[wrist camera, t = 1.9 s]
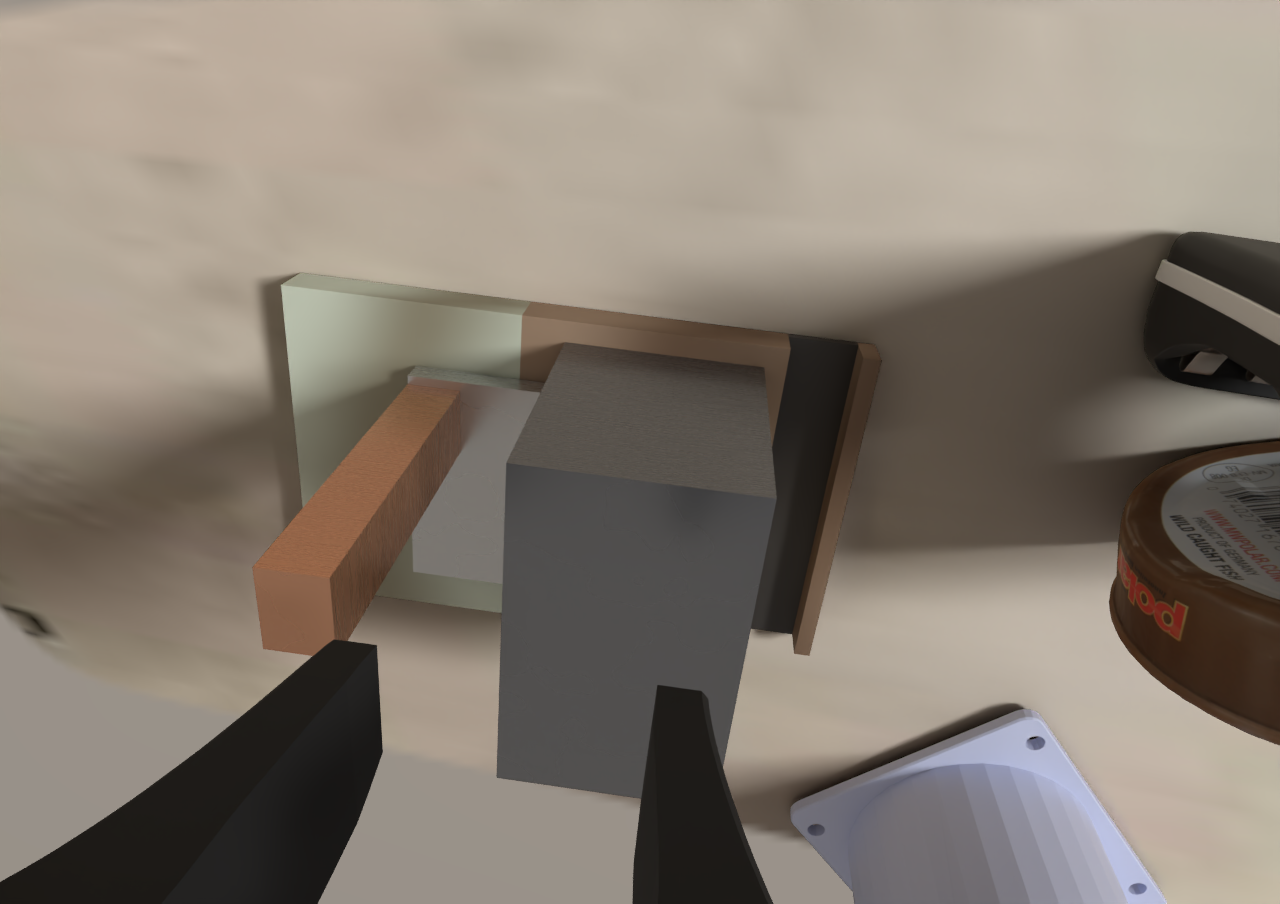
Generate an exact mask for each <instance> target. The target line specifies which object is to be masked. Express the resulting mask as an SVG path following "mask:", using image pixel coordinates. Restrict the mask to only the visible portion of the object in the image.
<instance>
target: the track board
mask: <svg viewBox="0 0 1280 904" xmlns="http://www.w3.org/2000/svg"><path fill="white" fill-rule="evenodd" d="M281 291H282V301H283V312H284V322H285V332H286V342H287V353H288V363H289V373H290V384H291V394H292V404H293V414H294V425H295V435H296V445H297V455H298V466H299V476H300V486H301V496H302V507H304V506H305V505H306V504H307V502H308V501H309V500H310V499H311V498H312V497H313V495H314V494H315V493H316V492H317V491H318V489H319V488H320V487H321V486H322V485H323V484H324V482H325V481H326V480H327V479H328V478H329V476H330V475H331V474H332V473H333V472H334V471H335V469H336V468H337V467H338V466H339V465H340V463H341V462H342V461H343V460H344V459H345V458H346V456H347V455H348V454H349V453H350V452H351V450H352V449H353V448H354V447H355V446H356V445H357V443H358V442H359V441H360V440H361V439H362V437H363V436H364V435H365V434H366V433H367V432H368V430H369V429H370V428H371V427H372V426H373V424H374V423H375V422H376V421H377V420H378V419H379V417H380V416H381V415H382V414H383V413H384V412H385V410H386V409H387V408H388V407H389V406H390V404H391V403H392V402H393V401H394V400H395V399H396V397H397V396H398V395H399V394H400V393H401V391H402V390H403V389H404V388H405V387H406V386H407V384H408V375H409V374H410V372H411V371H412V370H413V369H414V368H415V367H416V366H422V367H429V368H437V369H445V370H453V371H460V372H468V373H476V374H484V375H492V376H499V377H507V378H515V379H523V380H531V381H538V382H546V380H547V378H548V376H549V374H550V372H551V370H552V368H553V366H554V364H555V362H556V360H557V358H558V356H559V353H560V351H561V349H562V347H563V345H564V343H565V342H568V343H576V344H584V345H592V346H600V347H608V348H616V349H624V350H632V351H640V352H647V353H655V354H663V355H671V356H679V357H687V358H695V359H703V360H711V361H719V362H726V363H734V364H742V365H750V366H758V367H764V369H765V380H766V390H767V401H768V411H769V422H770V433H771V443H772V454H773V465H774V475H775V486H776V497H777V500H776V505H775V510H774V515H773V520H772V525H771V530H770V534H769V539H768V544H767V549H766V554H765V559H764V564H763V569H762V574H761V579H760V584H759V589H758V594H757V599H756V604H755V609H754V614H753V619H752V624H751V629H759V630H766V631H773V632H781V633H788V634H792V637H793V647H794V654H801V655H808V656H809V655H810V651H811V646H812V642H813V638H814V634H815V630H816V626H817V622H818V618H819V614H820V610H821V606H822V602H823V598H824V594H825V589H826V585H827V581H828V577H829V573H830V569H831V565H832V561H833V557H834V553H835V549H836V545H837V541H838V536H839V532H840V528H841V524H842V520H843V516H844V512H845V508H846V504H847V500H848V496H849V492H850V488H851V483H852V479H853V475H854V471H855V467H856V463H857V459H858V455H859V451H860V447H861V443H862V439H863V435H864V430H865V426H866V422H867V418H868V414H869V410H870V406H871V402H872V398H873V394H874V390H875V386H876V382H877V377H878V373H879V369H880V365H881V361H882V360H881V358H880V356H879V353H878V351H877V348H876V346H875V345H873V344H865V343H857V342H849V341H841V340H833V339H825V338H817V337H809V336H801V335H793V334H785V333H777V332H769V331H761V330H753V329H745V328H737V327H729V326H721V325H713V324H705V323H697V322H689V321H681V320H673V319H665V318H657V317H649V316H641V315H633V314H625V313H617V312H609V311H601V310H593V309H585V308H577V307H569V306H561V305H553V304H545V303H537V302H529V301H521V300H513V299H505V298H498V297H490V296H482V295H474V294H466V293H458V292H450V291H442V290H434V289H426V288H418V287H410V286H402V285H394V284H386V283H378V282H370V281H362V280H354V279H346V278H338V277H330V276H322V275H314V274H306V273H299V274H298V275H296V276H295V277H293V278H291V279H290V280H288V281H287V282H285V283H283V284H282V285H281ZM375 596H382V597H389V598H396V599H403V600H411V601H418V602H425V603H432V604H440V605H447V606H454V607H461V608H469V609H476V610H483V611H490V612H497V613H502V584H499V583H491V582H484V581H477V580H470V579H462V578H455V577H448V576H440V575H433V574H426V573H419V572H413V544H412V534H411V536H410V537H409V539H408V541H407V542H406V544H405V546H404V547H403V549H402V551H401V552H400V554H399V556H398V557H397V559H396V561H395V562H394V564H393V566H392V567H391V569H390V571H389V572H388V574H387V576H386V577H385V579H384V581H383V582H382V584H381V586H380V587H379V589H378V591H377V592H376V594H375Z"/></svg>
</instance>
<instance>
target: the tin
mask: <svg viewBox="0 0 1280 904" xmlns="http://www.w3.org/2000/svg"><path fill="white" fill-rule="evenodd" d="M1109 606H1110V614H1111V619H1112V622H1113V624H1114V627H1115V629H1116V631H1117V633H1118V635H1119V637H1120V639H1121V641H1122V642H1123V644H1124V645H1125V647H1126V648H1127V650H1128V651H1129V652H1130V653H1131V654H1132V656H1133V657H1134V658H1135V659H1136V660H1137V661H1138V662H1139V663H1140V664H1141V665H1142V666H1143V667H1144V668H1145V669H1146V670H1147V671H1148V672H1149V673H1150V674H1151V675H1152V676H1153V677H1155V678H1156V679H1157V680H1158V681H1160V682H1161V683H1162V684H1163V685H1165V686H1166V687H1167V688H1168V689H1170V690H1171V691H1173V692H1175V693H1176V694H1178V695H1179V696H1180V697H1182V698H1183V699H1184V700H1186V701H1188V702H1190V703H1192V704H1193V705H1195V706H1197V707H1198V708H1200V709H1202V710H1203V711H1205V712H1206V713H1208V714H1210V715H1212V716H1214V717H1216V718H1217V719H1219V720H1221V721H1223V722H1225V723H1227V724H1230V725H1232V726H1234V727H1236V728H1238V729H1240V730H1242V731H1244V732H1246V733H1248V734H1251V735H1253V736H1255V737H1258V738H1261V739H1264V740H1267V741H1269V742H1272V743H1274V744H1277V745H1280V441H1275V442H1264V443H1254V444H1246V445H1239V446H1232V447H1225V448H1220V449H1215V450H1210V451H1206V452H1202V453H1198V454H1195V455H1191V456H1188V457H1185V458H1183V459H1180V460H1177V461H1174V462H1172V463H1170V464H1167V465H1165V466H1162V467H1161V468H1159V469H1158V470H1156V471H1154V472H1153V473H1151V474H1150V475H1149V476H1147V477H1146V478H1145V479H1143V480H1142V482H1141V483H1140V484H1139V485H1138V486H1137V487H1136V488H1135V489H1134V490H1133V492H1132V493H1131V495H1130V496H1129V498H1128V500H1127V502H1126V505H1125V508H1124V511H1123V515H1122V520H1121V526H1120V534H1119V541H1118V559H1117V576H1116V578H1115V580H1114V582H1113V584H1112V587H1111V592H1110V599H1109Z"/></svg>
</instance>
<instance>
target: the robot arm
mask: <svg viewBox="0 0 1280 904" xmlns="http://www.w3.org/2000/svg"><path fill="white" fill-rule="evenodd" d="M1034 736H1039V737H1037V738H1035V739H1031V740H1029V738H1031V737H1034ZM382 753H383V749H382V731H381V713H380V695H379V677H378V659H377V645H371V644H364V643H357V642H350V641H343V640H335V639H334V640H332V641H331V642H329V643H328V644H327V645H325V646H324V647H323V648H322V649H321V650H319V651H318V652H317V653H316V654H315V655H314V656H312V657H311V658H310V659H309V660H308V661H306V662H305V663H304V664H303V665H302V666H301V667H299V668H298V669H297V670H296V671H295V672H294V673H292V674H291V675H290V676H289V677H288V678H287V679H285V680H284V681H283V682H282V683H281V684H280V685H278V686H277V687H276V688H275V689H274V690H272V691H271V692H270V693H269V694H268V695H267V696H265V697H264V698H263V699H262V700H261V701H259V702H258V703H257V704H256V705H255V706H253V707H252V708H251V709H250V710H248V711H247V712H246V713H245V714H244V715H242V716H241V717H240V718H239V719H237V720H236V721H235V722H234V723H232V724H231V725H230V726H229V727H227V728H226V729H225V730H224V731H222V732H221V733H220V734H219V735H217V736H216V737H215V738H214V739H213V740H211V741H210V742H209V743H208V744H206V745H205V746H204V747H202V748H201V749H200V750H199V751H197V752H196V753H195V754H193V755H192V756H191V757H189V758H188V759H187V760H185V761H184V762H182V763H181V764H180V765H179V766H177V767H176V768H174V769H173V770H172V771H170V772H169V773H168V774H166V775H165V776H164V777H162V778H161V779H160V780H158V781H157V782H155V783H154V784H153V785H151V786H150V787H149V788H147V789H146V790H145V791H143V792H142V793H140V794H139V795H138V796H136V797H135V798H133V799H132V800H130V801H129V802H128V803H126V804H125V805H123V806H122V807H120V808H119V809H117V810H116V811H115V812H113V813H112V814H110V815H109V816H107V817H106V818H104V819H103V820H101V821H100V822H98V823H97V824H95V825H94V826H92V827H91V828H89V829H87V830H86V831H84V832H83V833H81V834H80V835H78V836H77V837H75V838H73V839H72V840H70V841H69V842H67V843H66V844H64V845H62V846H61V847H59V848H58V849H56V850H55V851H53V852H51V853H50V854H48V855H46V856H45V857H43V858H42V859H40V860H38V861H36V862H35V863H33V864H31V865H29V866H28V867H26V868H24V869H22V870H21V871H19V872H17V873H16V874H14V875H12V876H10V877H8V878H6V879H5V880H3V881H1V882H0V904H318V901H319V899H320V898H321V896H322V893H323V892H324V890H325V888H326V885H327V884H328V881H329V880H330V878H331V875H332V874H333V872H334V869H335V867H336V865H337V863H338V861H339V859H340V857H341V855H342V853H343V851H344V849H345V847H346V845H347V843H348V841H349V839H350V837H351V835H352V833H353V830H354V828H355V826H356V824H357V822H358V820H359V817H360V814H361V811H362V809H363V806H364V803H365V801H366V798H367V795H368V793H369V790H370V787H371V784H372V781H373V778H374V776H375V772H376V770H377V767H378V764H379V761H380V758H381V755H382ZM790 814H791V821H792V823H793V825H794V826H795V827H796V828H797V829H798V831H799V832H800V833H801V834H802V835H803V836H804V837H805V838H806V840H807V841H808V842H809V843H810V844H811V845H812V846H813V847H814V849H815V850H816V851H817V852H818V853H819V854H820V855H821V857H822V858H823V859H824V860H825V861H826V862H827V863H828V864H829V865H830V867H831V868H832V869H833V870H834V871H835V872H836V873H837V875H838V876H839V877H840V878H841V879H842V880H843V881H844V882H845V884H846V885H847V886H848V887H849V888H850V889H851V890H852V891H853V896H854V904H1167V901H1166V899H1165V897H1164V895H1163V893H1162V891H1161V890H1160V888H1159V887H1158V886H1157V884H1156V883H1155V881H1154V880H1153V878H1152V877H1151V875H1150V874H1149V872H1148V871H1147V870H1146V868H1145V867H1144V865H1143V864H1142V862H1141V861H1140V859H1139V858H1138V856H1137V855H1136V854H1135V852H1134V851H1133V849H1132V848H1131V846H1130V845H1129V843H1128V842H1127V840H1126V839H1125V837H1124V836H1123V835H1122V833H1121V832H1120V830H1119V829H1118V827H1117V826H1116V824H1115V823H1114V821H1113V820H1112V819H1111V817H1110V816H1109V814H1108V813H1107V811H1106V810H1105V808H1104V807H1103V805H1102V804H1101V803H1100V801H1099V800H1098V798H1097V797H1096V795H1095V794H1094V792H1093V791H1092V789H1091V788H1090V787H1089V785H1088V784H1087V782H1086V781H1085V779H1084V778H1083V776H1082V775H1081V773H1080V772H1079V771H1078V769H1077V768H1076V766H1075V765H1074V763H1073V762H1072V760H1071V759H1070V757H1069V756H1068V754H1067V753H1066V752H1065V750H1064V749H1063V747H1062V746H1061V744H1060V743H1059V741H1058V740H1057V738H1056V737H1055V736H1054V734H1053V733H1052V731H1051V730H1050V728H1049V727H1048V725H1047V724H1046V722H1045V721H1044V720H1043V718H1042V717H1041V715H1040V714H1038V713H1037V712H1036V711H1033V710H1030V709H1021V710H1017V711H1014V712H1012V713H1009V714H1007V715H1005V716H1002V717H1000V718H997V719H995V720H992V721H990V722H988V723H985V724H983V725H980V726H978V727H976V728H973V729H971V730H968V731H966V732H963V733H961V734H959V735H956V736H954V737H951V738H949V739H946V740H944V741H942V742H939V743H937V744H934V745H932V746H929V747H927V748H925V749H922V750H920V751H917V752H915V753H912V754H910V755H908V756H905V757H903V758H900V759H898V760H896V761H893V762H891V763H888V764H886V765H883V766H881V767H879V768H876V769H874V770H871V771H869V772H866V773H864V774H862V775H859V776H857V777H854V778H852V779H849V780H847V781H845V782H842V783H840V784H837V785H835V786H833V787H830V788H828V789H825V790H823V791H820V792H818V793H816V794H813V795H811V796H808V797H806V798H803V799H801V800H799V801H797V802H795V803H794V804H793V805H792V806H791V809H790ZM813 824H819V825H813ZM633 904H773V902H772V900H771V898H770V895H769V893H768V891H767V888H766V886H765V883H764V881H763V878H762V876H761V874H760V871H759V869H758V867H757V864H756V862H755V859H754V857H753V854H752V852H751V849H750V846H749V844H748V841H747V839H746V836H745V833H744V830H743V827H742V825H741V822H740V819H739V816H738V813H737V810H736V807H735V805H734V802H733V799H732V796H731V793H730V790H729V787H728V783H727V780H726V777H725V774H724V770H723V766H722V763H721V759H720V756H719V752H718V748H717V744H716V740H715V736H714V731H713V726H712V721H711V715H710V709H709V700H708V698H707V697H706V695H705V694H704V693H703V692H702V691H699V690H691V689H684V688H677V687H670V686H663V685H657V690H656V697H655V704H654V711H653V718H652V725H651V733H650V740H649V747H648V754H647V761H646V768H645V775H644V782H643V789H642V797H641V805H640V814H639V823H638V831H637V840H636V848H635V857H634V873H633Z"/></svg>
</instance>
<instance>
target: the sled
mask: <svg viewBox="0 0 1280 904" xmlns="http://www.w3.org/2000/svg"><path fill="white" fill-rule="evenodd" d="M544 384H545V382H538V381H531V380H523V379H515V378H507V377H499V376H492V375H484V374H476V373H468V372H460V371H453V370H445V369H437V368H429V367H422V366H416V367H415V368H414V369H413V370H412V371H411V372H410V374H409V375H408V384H407V386H406V387H405V388H404V389H403V390H402V391H401V393H400V394H399V395H398V396H397V397H396V399H395V400H394V401H393V402H392V403H391V404H390V406H389V407H388V408H387V409H386V410H385V412H384V413H383V414H382V415H381V416H380V417H379V419H378V420H377V421H376V422H375V423H374V424H373V426H372V427H371V428H370V429H369V430H368V432H367V433H366V434H365V435H364V436H363V437H362V439H361V440H360V441H359V442H358V443H357V445H356V446H355V447H354V448H353V449H352V450H351V452H350V453H349V454H348V455H347V456H346V458H345V459H344V460H343V461H342V462H341V463H340V465H339V466H338V467H337V468H336V469H335V471H334V472H333V473H332V474H331V475H330V476H329V478H328V479H327V480H326V481H325V482H324V484H323V485H322V486H321V487H320V488H319V489H318V491H317V492H316V493H315V494H314V495H313V497H312V498H311V499H310V500H309V501H308V502H307V504H306V505H305V506H304V507H303V508H302V510H301V511H300V512H299V513H298V514H297V515H296V517H295V518H294V519H293V520H292V521H291V523H290V524H289V525H288V526H287V527H286V528H285V530H284V531H283V532H282V533H281V534H280V535H279V537H278V538H277V539H276V540H275V541H274V543H273V544H272V545H271V546H270V547H269V548H268V550H267V551H266V552H265V553H264V554H263V556H262V557H261V558H260V559H259V560H258V561H257V563H256V564H255V565H254V566H253V567H252V568H253V575H254V583H255V590H256V598H257V605H258V612H259V620H260V627H261V635H262V642H263V649H268V650H275V651H282V652H290V653H297V654H304V655H311V656H314V655H315V654H316V653H317V652H318V651H319V650H321V649H322V648H323V647H324V646H325V645H327V644H328V643H329V642H331V641H332V640H334V639H335V640H343V641H348V639H349V637H350V636H351V634H352V632H353V631H354V629H355V627H356V626H357V624H358V622H359V621H360V619H361V617H362V616H363V614H364V612H365V611H366V609H367V607H368V606H369V604H370V602H371V601H372V599H373V597H374V596H375V594H376V592H377V591H378V589H379V587H380V586H381V584H382V582H383V581H384V579H385V577H386V576H387V574H388V572H389V571H390V569H391V567H392V566H393V564H394V562H395V561H396V559H397V557H398V556H399V554H400V552H401V551H402V549H403V547H404V546H405V544H406V542H407V541H408V539H409V537H410V536H411V534H412V544H413V572H419V573H426V574H433V575H440V576H448V577H455V578H462V579H470V580H477V581H484V582H491V583H499V584H503V551H504V518H505V485H506V462H507V460H508V458H509V456H510V454H511V452H512V450H513V448H514V446H515V444H516V442H517V440H518V438H519V436H520V434H521V431H522V429H523V427H524V425H525V423H526V421H527V419H528V417H529V415H530V413H531V411H532V409H533V407H534V405H535V403H536V401H537V399H538V397H539V395H540V392H541V390H542V388H543V386H544Z"/></svg>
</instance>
